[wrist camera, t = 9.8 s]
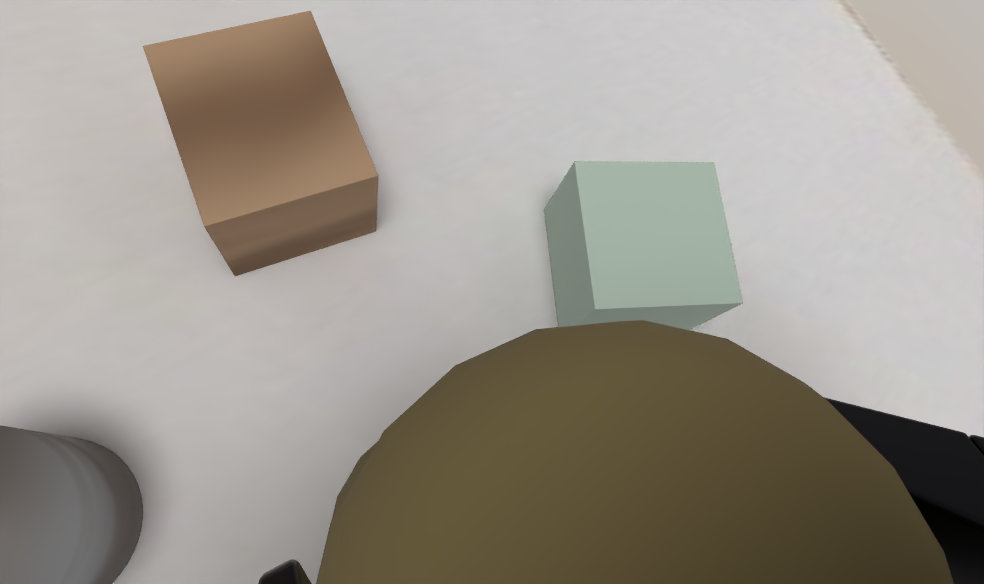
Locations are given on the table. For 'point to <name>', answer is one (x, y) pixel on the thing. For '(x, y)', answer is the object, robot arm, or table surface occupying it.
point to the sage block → (640, 244)
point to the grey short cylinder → (64, 510)
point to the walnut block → (266, 140)
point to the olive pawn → (625, 474)
